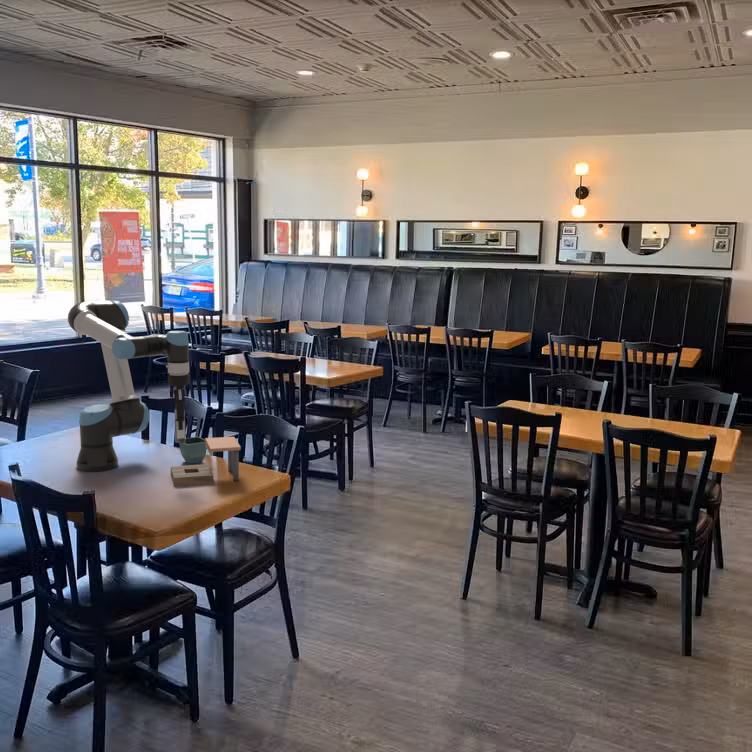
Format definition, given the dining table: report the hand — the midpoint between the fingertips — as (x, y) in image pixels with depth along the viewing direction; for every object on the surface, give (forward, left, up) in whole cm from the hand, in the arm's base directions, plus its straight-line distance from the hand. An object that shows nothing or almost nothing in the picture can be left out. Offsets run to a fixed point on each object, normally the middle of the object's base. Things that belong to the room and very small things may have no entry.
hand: (180, 436), depth 279 cm
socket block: (0, +4, -16) cm, 17 cm away
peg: (0, 0, -2) cm, 2 cm away
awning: (0, +15, -16) cm, 23 cm away
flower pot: (-21, +7, -17) cm, 28 cm away
